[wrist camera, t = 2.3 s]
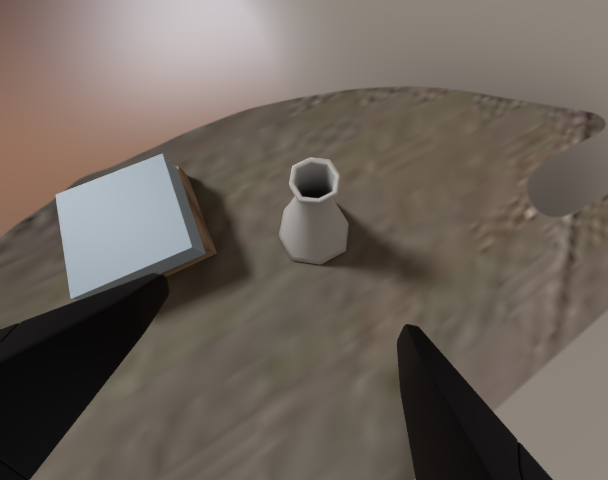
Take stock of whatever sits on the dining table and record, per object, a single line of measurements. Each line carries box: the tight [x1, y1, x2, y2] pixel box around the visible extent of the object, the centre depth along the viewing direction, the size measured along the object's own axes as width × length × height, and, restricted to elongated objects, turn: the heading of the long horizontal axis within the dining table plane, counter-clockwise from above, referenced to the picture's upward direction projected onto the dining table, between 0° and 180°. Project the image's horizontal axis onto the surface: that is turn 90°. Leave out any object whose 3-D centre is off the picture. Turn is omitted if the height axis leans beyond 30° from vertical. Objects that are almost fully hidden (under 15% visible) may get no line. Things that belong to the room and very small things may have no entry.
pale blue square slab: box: [56, 154, 206, 299], centre depth 21 cm, size 10×10×2 cm
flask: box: [279, 157, 349, 265], centre depth 19 cm, size 7×7×10 cm
